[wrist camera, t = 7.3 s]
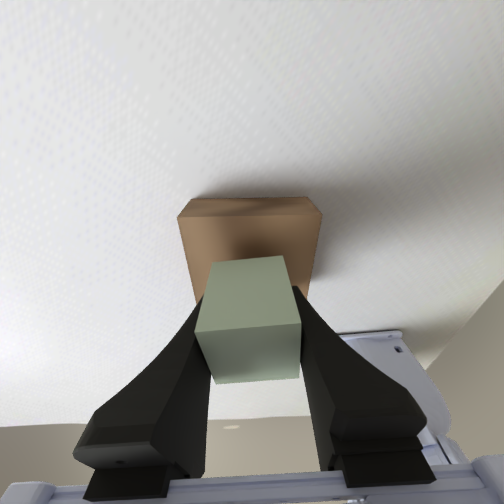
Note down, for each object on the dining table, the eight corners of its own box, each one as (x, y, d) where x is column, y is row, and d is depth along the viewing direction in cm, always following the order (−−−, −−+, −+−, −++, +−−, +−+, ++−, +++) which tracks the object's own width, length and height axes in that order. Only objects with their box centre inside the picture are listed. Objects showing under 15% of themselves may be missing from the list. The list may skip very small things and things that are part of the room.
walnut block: (306, 195, 16) (322, 214, 12) (294, 282, 21) (304, 313, 17) (192, 197, 16) (176, 217, 12) (207, 284, 20) (199, 316, 17)
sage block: (282, 255, 12) (301, 323, 8) (284, 305, 15) (299, 378, 10) (212, 262, 12) (194, 332, 8) (224, 310, 15) (215, 384, 11)
